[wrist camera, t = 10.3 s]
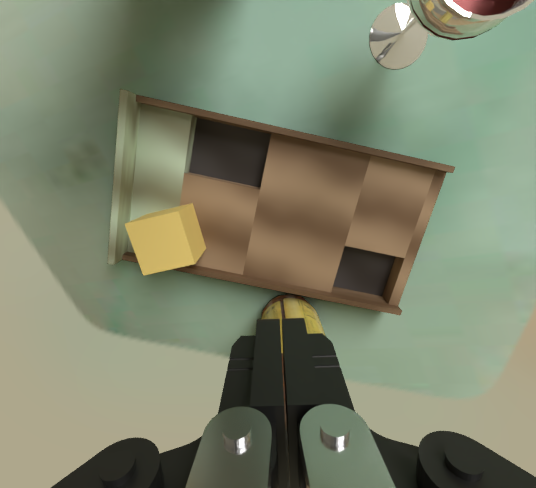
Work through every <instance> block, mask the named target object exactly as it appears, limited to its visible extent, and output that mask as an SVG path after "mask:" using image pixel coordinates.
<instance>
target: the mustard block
mask: <svg viewBox="0 0 536 488" xmlns="http://www.w3.org/2000/svg"><path fill="white" fill-rule="evenodd" d="M125 227H126V230H127V232H128V235H129V238H130V241H131V243H132V246H133V249H134V252H135V254H136V257H137V260H138V262H139V265H140V268H141V271H142V273H143V276H144V275H148V274H153V273H157V272H162V271H166V270H171V269H175V268H180V267H184V266H189V265H193V264H196V262H197V261H198V259H199V258H200V257H201V255H202V254H203V252H204V251H205V250H206V246H205V243H204V239H203V236H202V233H201V229H200V226H199V223H198V219H197V216H196V213H195V209H194V206H193V203H191V204H187V205H183V206H178V207H174V208H170V209H166V210H161V211H157V212H153V213H149V214H146V215H143V216H141V217H139V218H137V219H134V220H132V221H130V222H128V223H125Z"/></svg>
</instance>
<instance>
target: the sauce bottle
mask: <svg viewBox="0 0 536 488" xmlns="http://www.w3.org/2000/svg"><path fill="white" fill-rule="evenodd" d="M282 318H304V319H305V323H306V328H307V333H308V334H313V333H323V334H324V335H325V333H324V331H323V328H322V325H321V322H320V320H319V317H318V315H317V312H316V311H315V309H314V308H313V307H312V306H311V305H310V303H309V302H308V301H306V300H305V299H304V298H303V297H301V296H298V295H293V294H292V295H288V294H287V295H279V296H277V297H275V298H273V299H272V300H271V301H270V302H269V303H268V304H267V305H266V307H265V308H264V310H263V312H262V318H261V319H280V334H281V353H282V372H283V391H284V413H285V440H286V467H287V488H290V475H289V458H288V441H287V423H286V406H285V388H284V369H283V343H282Z"/></svg>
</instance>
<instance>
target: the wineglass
mask: <svg viewBox="0 0 536 488" xmlns="http://www.w3.org/2000/svg"><path fill="white" fill-rule="evenodd" d="M533 1H534V0H407V3H408V4H407V3H398V4H393V5H391V6H389V7H387V8H385V9H384V10H383V11H382V12H381V13H380V14H379V15H378V16H377V18H376V19H375V21H374V23H373V25H372V28H371V32H370V48H371V51H372V54H373V56H374V57H375V59H376V60H377V62H378V63H380V64H381V65H383V66H384V67H386V68H390V69H401V68H404V67H406V66H409V65H411V64H412V63H413V62H414V61H415V60H416V59H418V58H419V56H420V55H421V53H422V52H423V50H424V48H425V45H426V42H427V37H428V34H430V35H431V36H434V37H438V38H442V39H446V40H459V39H468V38H474V37H476V36H478V35H480V34H482V33H484V32H487V31H489V30H491V29H492V28H494V27H496V26H498V25H499V24H500V23H501V22H502V21H503V20H504V19H506V18H507V17H508V16H510V15H512V14H514V13H516V12H518V11H520V10H522V9H525V8H526V7H527V6H528V5H529V4H530V3H531V2H533Z"/></svg>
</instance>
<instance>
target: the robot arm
mask: <svg viewBox="0 0 536 488" xmlns="http://www.w3.org/2000/svg"><path fill="white" fill-rule="evenodd" d="M282 343H283V369H284V388H285V406H286V423H287V441H288V458H289V475H290V488H536V477H534V476H533V475H531V474H529V473H528V472H526V471H525V470H523V469H521V468H520V467H518V466H516V465H515V464H513V463H511V462H510V461H508V460H506V459H505V458H503V457H501V456H500V455H498V454H497V453H495V452H493V451H492V450H490V449H488V448H486V447H485V446H484V445H482V444H480V443H478V442H477V441H475V440H473V439H471V438H469V437H467V436H464V435H462V434H458V433H455V432H450V431H436V432H432V433H430V434H428V435H426V436H425V437H424V438H423V439H422V441H421V442H420V445H419V447H417V446H413V445H409V444H406V443H402V442H398V441H394V440H391V439H388V438H385V437H383V436H381V435H379V434H377V433H375V432H373V431H372V430H370V429H369V427H368V426H367V424H366V422H365V421H364V420H363V419H362V418H361V417H360V416H359V415H358V414H357V413H356V412H355V410H354V407H353V404H352V401H351V398H350V396H349V392H348V389H347V386H346V383H345V380H344V377H343V374H342V371H341V368H340V366H339V362H338V359H337V357H336V353H335V350H334V347H333V344H332V342H331V341H330V340H329V339H328V338H327V337H326V336H325V335H324V334H323V333H313V334H308V333H307V328H306V323H305V319H304V318H282ZM51 488H287V467H286V440H285V413H284V391H283V372H282V353H281V334H280V319H257V327H256V336H240V338H239V339H238V340H237V341H236V342H235V343H234V345H233V346H232V349H231V354H230V361H229V364H228V371H227V374H226V378H225V383H224V388H223V392H222V397H221V402H220V407H219V412H218V414H217V415H216V416H215V417H214V418H212V420H211V421H210V422H209V423H208V425H207V426H206V428H205V430H204V433H203V436H201V437H200V438H199V439H197V440H196V441H193V442H192V443H190V444H187V445H184V446H182V447H179V448H176V449H173V450H170V451H166V452H163V453H160V454H159V451H158V448H157V447H156V446H155V444H154V443H152V442H151V441H149V440H147V439H144V438H128V439H125V440H121V441H119V442H116V443H114V444H112V445H110V446H108V447H107V448H105V449H104V450H102V451H101V452H99V453H98V454H97V455H95V456H94V457H92V458H91V459H90V460H88V461H87V462H86V463H84V464H83V465H81V466H80V467H79V468H77V469H76V470H75V471H73V472H72V473H70V474H69V475H68V476H66V477H65V478H63V479H62V480H61V481H60V482H58V483H57V484H55V485H54V486H53V487H51Z"/></svg>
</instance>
